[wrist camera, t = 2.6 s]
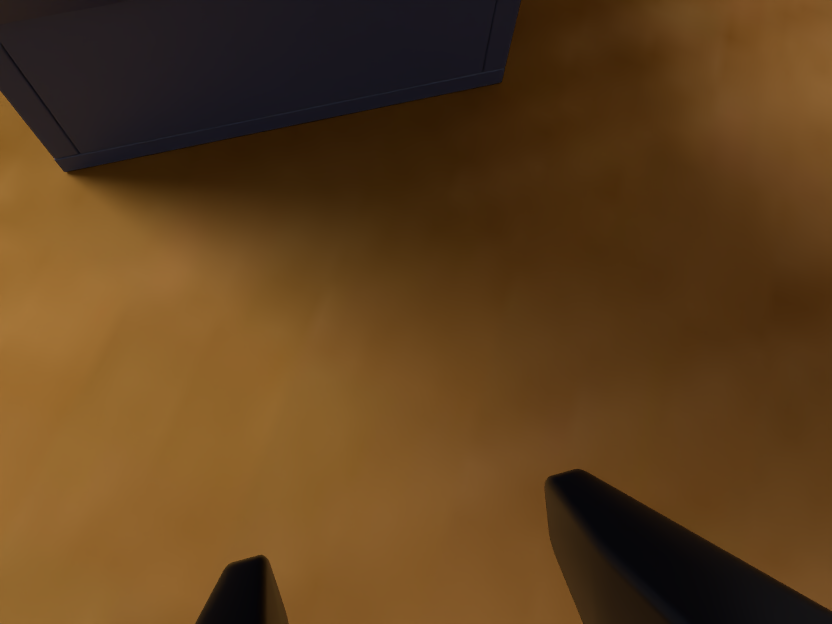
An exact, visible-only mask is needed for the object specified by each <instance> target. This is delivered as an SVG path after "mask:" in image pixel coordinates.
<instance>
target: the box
mask: <svg viewBox="0 0 832 624" xmlns="http://www.w3.org/2000/svg"><path fill="white" fill-rule="evenodd" d="M520 3H521V0H132V1H126V2H121V3H115V4H110V5H104V6H99V7H93V8H88V9H82V10H77V11H71V12H66V13H60V14H55V15H49V16H44V17H38V18H33V19H27V20H22V21H16V22H11V23H5V24H0V91H1V92H2V93H3V95H4V96H5V97H6V98H7V100H8V101H9V102H10V103H11V105H12V106H13V107H14V108H15V110H16V111H17V112H18V114H19V115H20V116H21V117H22V119H23V120H24V121H25V122H26V124H27V125H28V126H29V127H30V129H31V130H32V131H33V132H34V134H35V135H36V136H37V137H38V139H39V140H40V141H41V143H42V144H43V145H44V146H45V148H46V149H47V150H48V151H49V153H50V154H51V155H52V156H53V158H54V159H55V161H56V162H57V163H58V165H59V166H60V167H61V168H62V170H63V171H64V172H68V171H73V170H78V169H83V168H87V167H92V166H97V165H102V164H107V163H112V162H117V161H121V160H126V159H131V158H136V157H141V156H146V155H151V154H156V153H160V152H165V151H170V150H175V149H180V148H185V147H190V146H194V145H199V144H204V143H209V142H214V141H219V140H224V139H229V138H233V137H238V136H243V135H248V134H253V133H258V132H263V131H267V130H272V129H277V128H282V127H287V126H292V125H297V124H302V123H306V122H311V121H316V120H321V119H326V118H331V117H336V116H340V115H345V114H350V113H355V112H360V111H365V110H370V109H374V108H379V107H384V106H389V105H394V104H399V103H404V102H409V101H413V100H418V99H423V98H428V97H433V96H438V95H443V94H447V93H452V92H457V91H462V90H467V89H472V88H477V87H482V86H486V85H491V84H496V83H501V82H502V79H503V75H504V70H505V66H506V61H507V57H508V53H509V49H510V45H511V40H512V36H513V32H514V28H515V24H516V19H517V15H518V11H519V7H520Z"/></svg>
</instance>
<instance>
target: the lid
mask: <svg viewBox="0 0 832 624" xmlns="http://www.w3.org/2000/svg"><path fill="white" fill-rule="evenodd" d="M126 1H132V0H0V24H5V23H11V22H16V21H22V20H27V19H33V18H38V17H44V16H49V15H55V14H60V13H66V12H71V11H77V10H82V9H88V8H93V7H99V6H104V5H110V4H115V3H121V2H126Z"/></svg>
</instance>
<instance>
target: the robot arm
mask: <svg viewBox="0 0 832 624" xmlns="http://www.w3.org/2000/svg"><path fill="white" fill-rule="evenodd" d="M545 498H546V508H547V518H548V527H549V535H550V540H551V544H552V547H553V550H554V553H555V556H556V558H557V561H558V563H559V566H560V568H561V571H562V573H563V575H564V578H565V580H566V583H567V585H568V588H569V590H570V593H571V595H572V597H573V600H574V602H575V605H576V607H577V610H578V612H579V615H580V617H581V619H582V622H583V624H832V611H830V610H828V609H827V608H825V607H823V606H821V605H820V604H818V603H816V602H814V601H813V600H811V599H809V598H807V597H805V596H804V595H802V594H800V593H798V592H797V591H795V590H793V589H791V588H790V587H788V586H786V585H784V584H783V583H781V582H779V581H777V580H776V579H774V578H772V577H770V576H769V575H767V574H765V573H763V572H762V571H760V570H758V569H756V568H755V567H753V566H751V565H749V564H748V563H746V562H744V561H742V560H741V559H739V558H737V557H735V556H734V555H732V554H730V553H728V552H727V551H725V550H723V549H721V548H720V547H718V546H716V545H714V544H713V543H711V542H709V541H707V540H706V539H704V538H702V537H700V536H699V535H697V534H695V533H693V532H691V531H690V530H688V529H686V528H684V527H683V526H681V525H679V524H677V523H676V522H674V521H672V520H670V519H669V518H667V517H665V516H663V515H662V514H660V513H658V512H656V511H655V510H653V509H651V508H649V507H648V506H646V505H644V504H642V503H641V502H639V501H637V500H635V499H634V498H632V497H630V496H628V495H627V494H625V493H623V492H621V491H620V490H618V489H616V488H614V487H613V486H611V485H609V484H607V483H606V482H604V481H602V480H600V479H599V478H597V477H595V476H593V475H592V474H590V473H588V472H586V471H584V470H581V469H574V470H570V471H567V472H563V473H559V474H556V475H552V476H550V477H548V478H547V480H546V481H545ZM195 624H288V619H287V615H286V611H285V608H284V605H283V602H282V599H281V596H280V593H279V590H278V586H277V583H276V580H275V577H274V574H273V571H272V568H271V565H270V563H269V560H268V559H267V558H266V557H265V556H263V555H258V556H254V557H250V558H247V559H243V560H239V561H236V562H232V563H230V564H229V565H228V566H227V567H226V568H225V569H224V571H223V573H222V574H221V576H220V578H219V580H218V582H217V584H216V586H215V588H214V589H213V591H212V593H211V595H210V597H209V599H208V601H207V603H206V604H205V606H204V608H203V610H202V612H201V614H200V616H199V618H198V619H197V621H196V623H195Z"/></svg>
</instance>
